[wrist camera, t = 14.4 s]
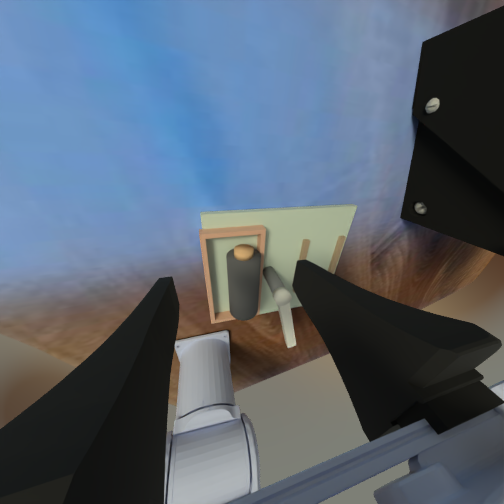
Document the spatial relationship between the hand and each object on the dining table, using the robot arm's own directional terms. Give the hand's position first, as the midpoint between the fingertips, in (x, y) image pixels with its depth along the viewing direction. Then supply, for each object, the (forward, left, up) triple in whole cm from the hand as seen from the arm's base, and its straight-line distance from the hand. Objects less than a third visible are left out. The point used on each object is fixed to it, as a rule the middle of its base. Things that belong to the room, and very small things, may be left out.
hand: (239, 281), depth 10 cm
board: (-7, -7, -10) cm, 14 cm away
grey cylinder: (-7, -1, -9) cm, 11 cm away
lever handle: (-11, -7, -5) cm, 14 cm away
